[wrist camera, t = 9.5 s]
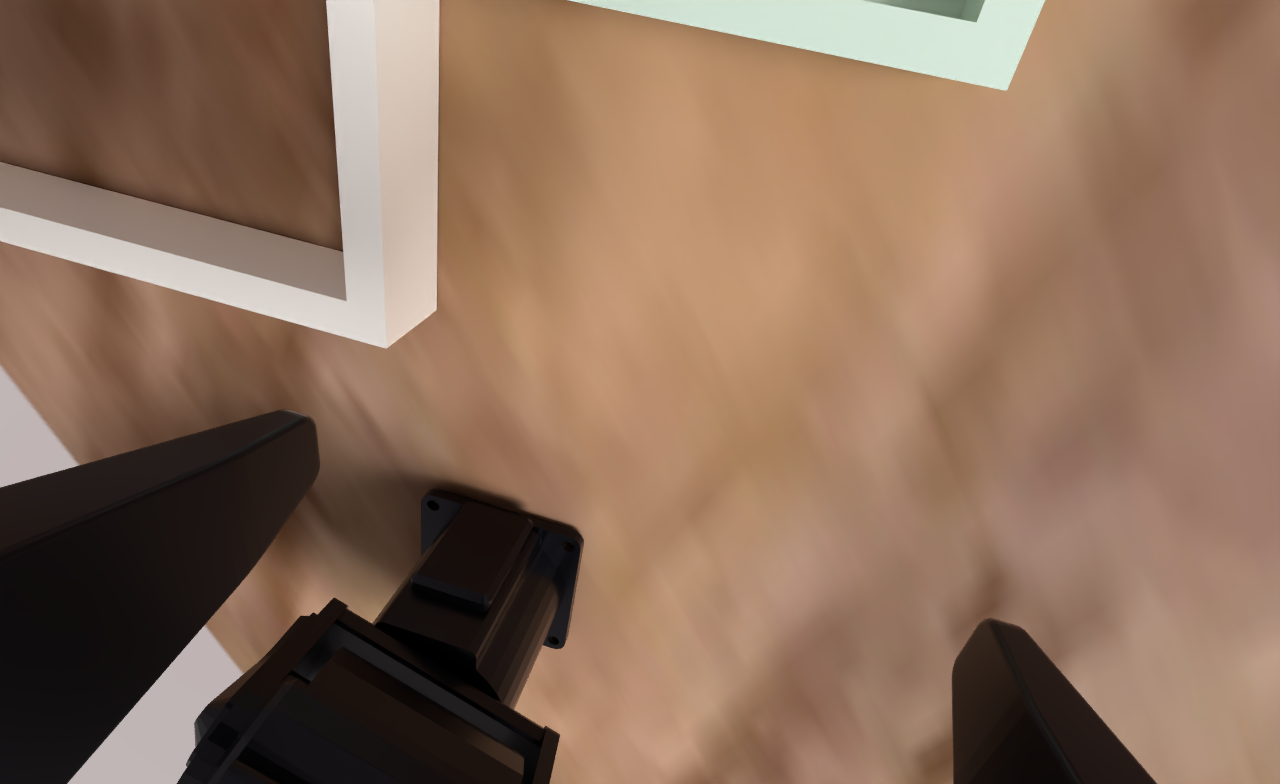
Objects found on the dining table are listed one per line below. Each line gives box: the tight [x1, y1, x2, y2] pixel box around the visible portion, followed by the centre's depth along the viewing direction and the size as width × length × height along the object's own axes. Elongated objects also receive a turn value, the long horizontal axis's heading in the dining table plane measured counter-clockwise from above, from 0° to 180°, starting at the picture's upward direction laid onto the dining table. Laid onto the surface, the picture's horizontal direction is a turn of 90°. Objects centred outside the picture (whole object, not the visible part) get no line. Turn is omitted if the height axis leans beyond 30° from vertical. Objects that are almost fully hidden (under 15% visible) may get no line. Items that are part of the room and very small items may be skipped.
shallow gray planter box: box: [0, 0, 439, 349], centre depth 19 cm, size 12×20×3 cm, turn 79°
